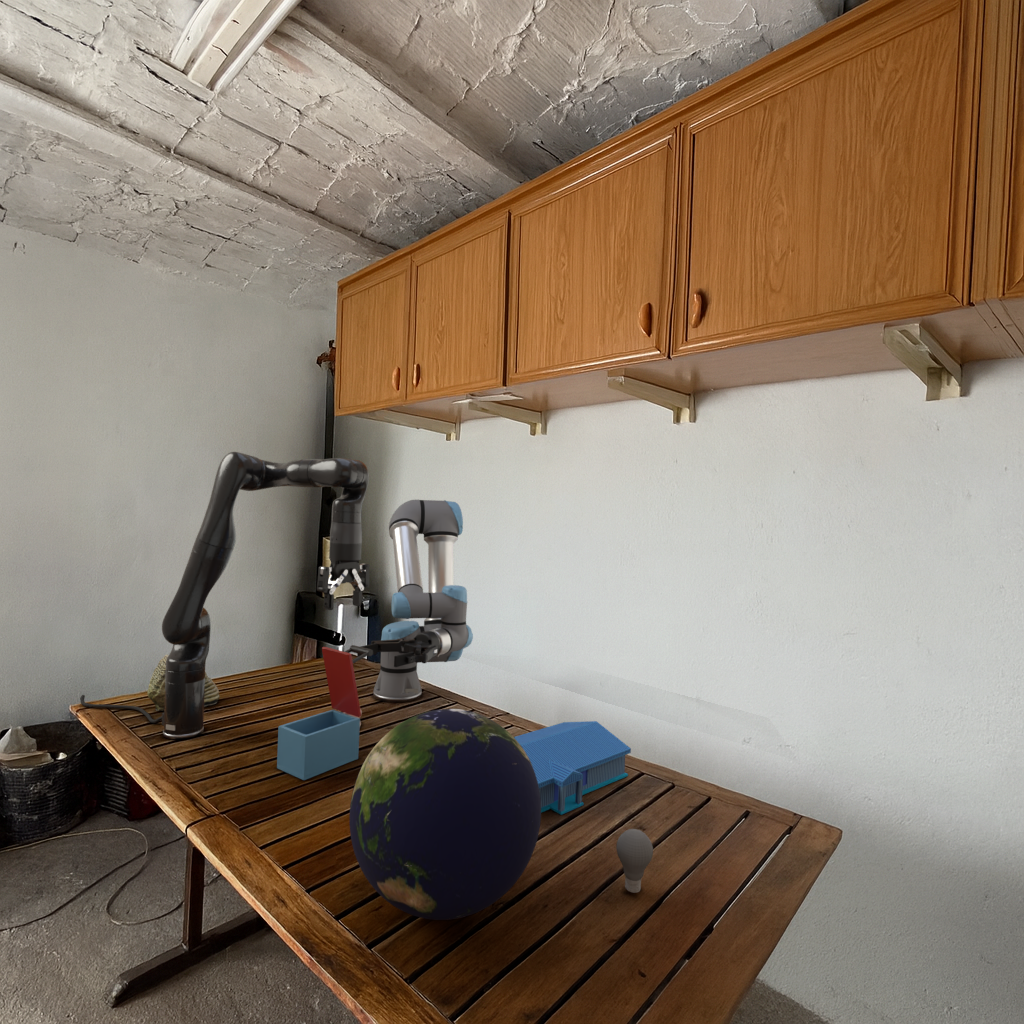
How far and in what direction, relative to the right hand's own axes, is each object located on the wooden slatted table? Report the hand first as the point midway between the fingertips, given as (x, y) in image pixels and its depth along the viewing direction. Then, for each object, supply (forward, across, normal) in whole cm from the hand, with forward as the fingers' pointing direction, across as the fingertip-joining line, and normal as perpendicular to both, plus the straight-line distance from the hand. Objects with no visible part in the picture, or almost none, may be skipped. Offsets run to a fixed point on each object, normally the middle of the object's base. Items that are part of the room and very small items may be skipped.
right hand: (376, 656), depth 164 cm
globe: (+38, -57, -22) cm, 72 cm away
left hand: (+12, 0, +14) cm, 18 cm away
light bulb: (+17, -80, -22) cm, 84 cm away
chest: (+17, 0, -22) cm, 28 cm away
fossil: (+17, +61, -22) cm, 67 cm away
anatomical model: (-1, +16, -22) cm, 27 cm away
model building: (-8, -47, -22) cm, 53 cm away
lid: (+12, 0, -4) cm, 12 cm away
